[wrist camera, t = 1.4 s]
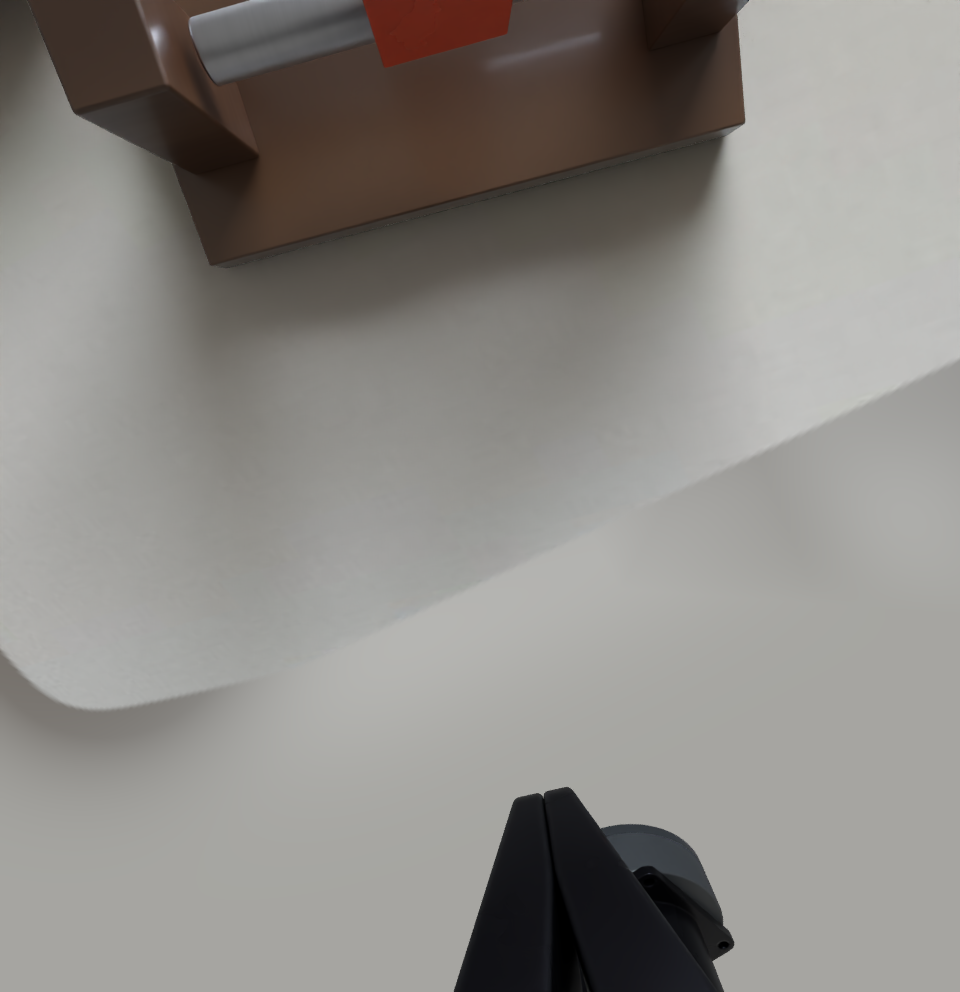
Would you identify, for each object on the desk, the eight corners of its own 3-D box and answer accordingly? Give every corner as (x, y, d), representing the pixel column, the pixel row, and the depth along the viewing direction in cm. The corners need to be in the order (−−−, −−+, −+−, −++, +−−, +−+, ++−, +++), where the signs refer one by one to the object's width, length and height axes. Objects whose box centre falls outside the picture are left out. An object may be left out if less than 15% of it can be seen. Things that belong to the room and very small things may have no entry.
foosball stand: (727, 135, 17) (876, 38, 11) (225, 269, 18) (101, 247, 12) (701, -163, 15) (871, -496, 9) (128, 3, 15) (-88, -196, 9)
